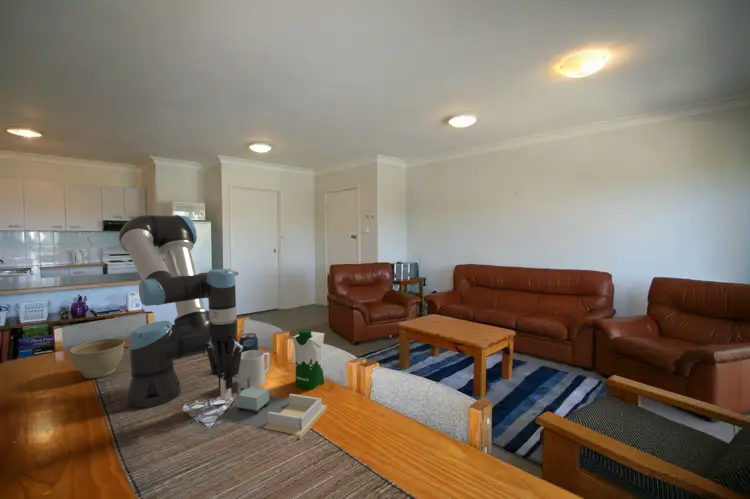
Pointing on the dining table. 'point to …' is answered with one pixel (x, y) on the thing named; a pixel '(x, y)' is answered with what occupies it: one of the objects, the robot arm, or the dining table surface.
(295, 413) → the dock
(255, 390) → the grey boxy piece
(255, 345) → the soda can
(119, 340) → the planter bowl
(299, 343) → the milk carton
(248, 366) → the mug
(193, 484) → the dining table surface
